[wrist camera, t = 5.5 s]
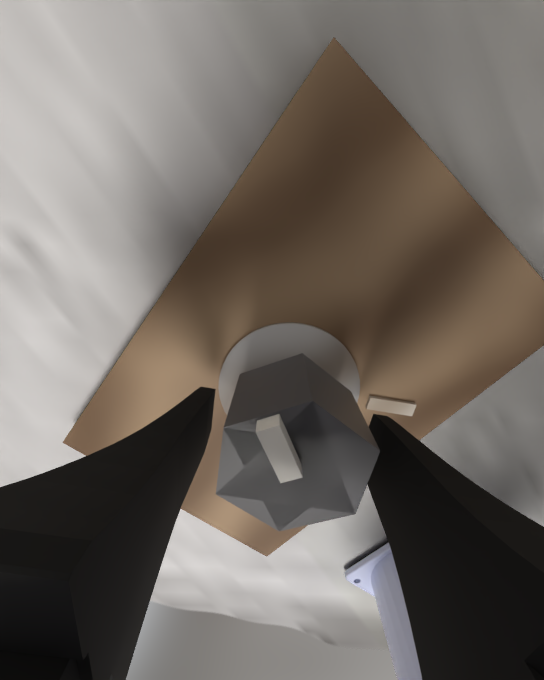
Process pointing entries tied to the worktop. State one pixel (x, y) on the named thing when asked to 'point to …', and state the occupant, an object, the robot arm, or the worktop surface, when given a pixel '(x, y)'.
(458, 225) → the board
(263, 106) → the worktop surface
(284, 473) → the grey faceted polyhedron
